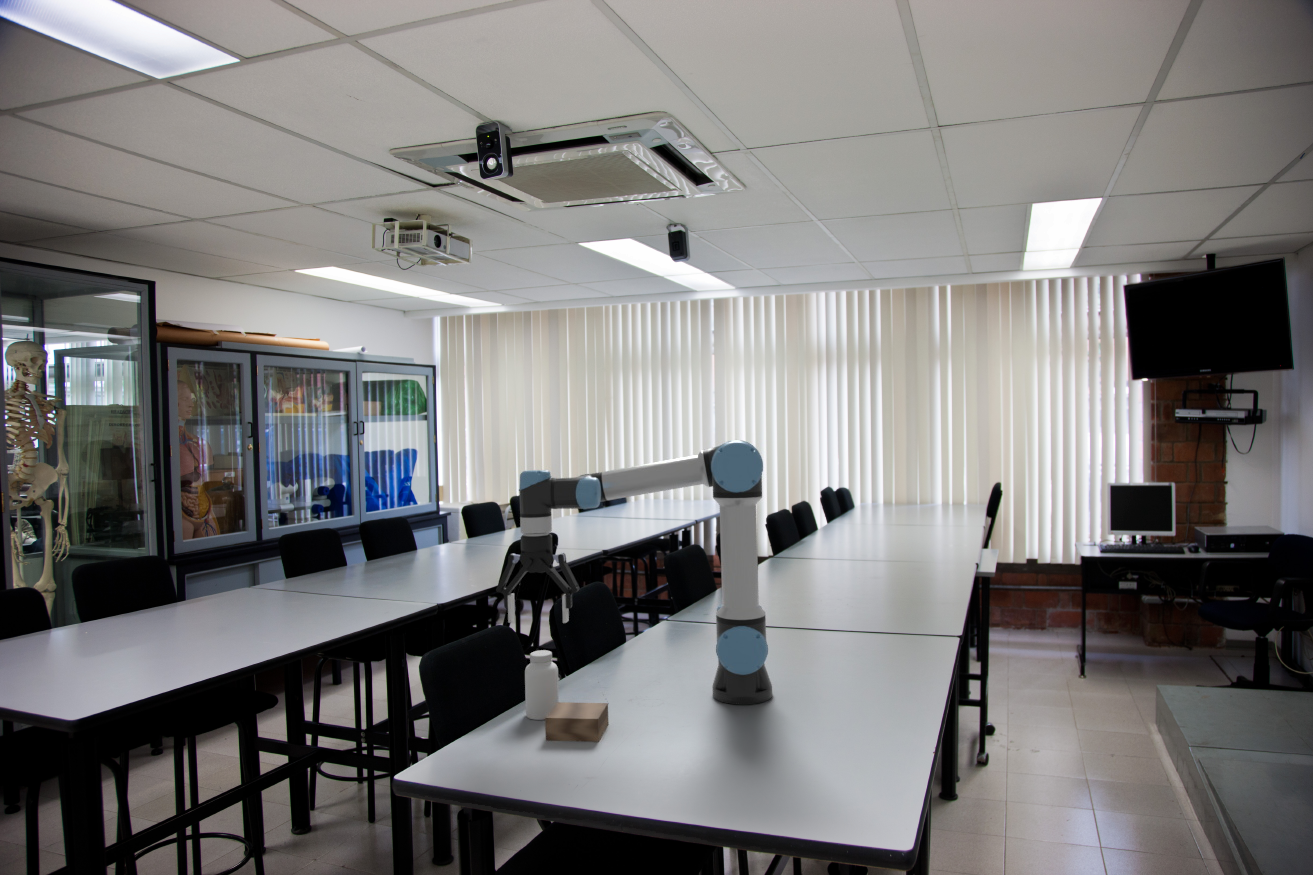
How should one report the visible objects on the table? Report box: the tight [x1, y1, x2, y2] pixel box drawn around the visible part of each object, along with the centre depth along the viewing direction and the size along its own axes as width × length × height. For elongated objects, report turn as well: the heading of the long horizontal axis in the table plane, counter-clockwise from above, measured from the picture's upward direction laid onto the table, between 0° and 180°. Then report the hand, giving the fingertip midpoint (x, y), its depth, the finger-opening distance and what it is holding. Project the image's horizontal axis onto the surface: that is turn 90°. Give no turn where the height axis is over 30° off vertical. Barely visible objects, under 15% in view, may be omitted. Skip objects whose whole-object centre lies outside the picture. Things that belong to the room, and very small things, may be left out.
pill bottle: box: [524, 649, 560, 721], centre depth 185 cm, size 8×8×15 cm
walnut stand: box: [544, 701, 609, 743], centre depth 172 cm, size 12×10×5 cm
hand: (538, 621), depth 185 cm, fingers open, 13 cm apart
